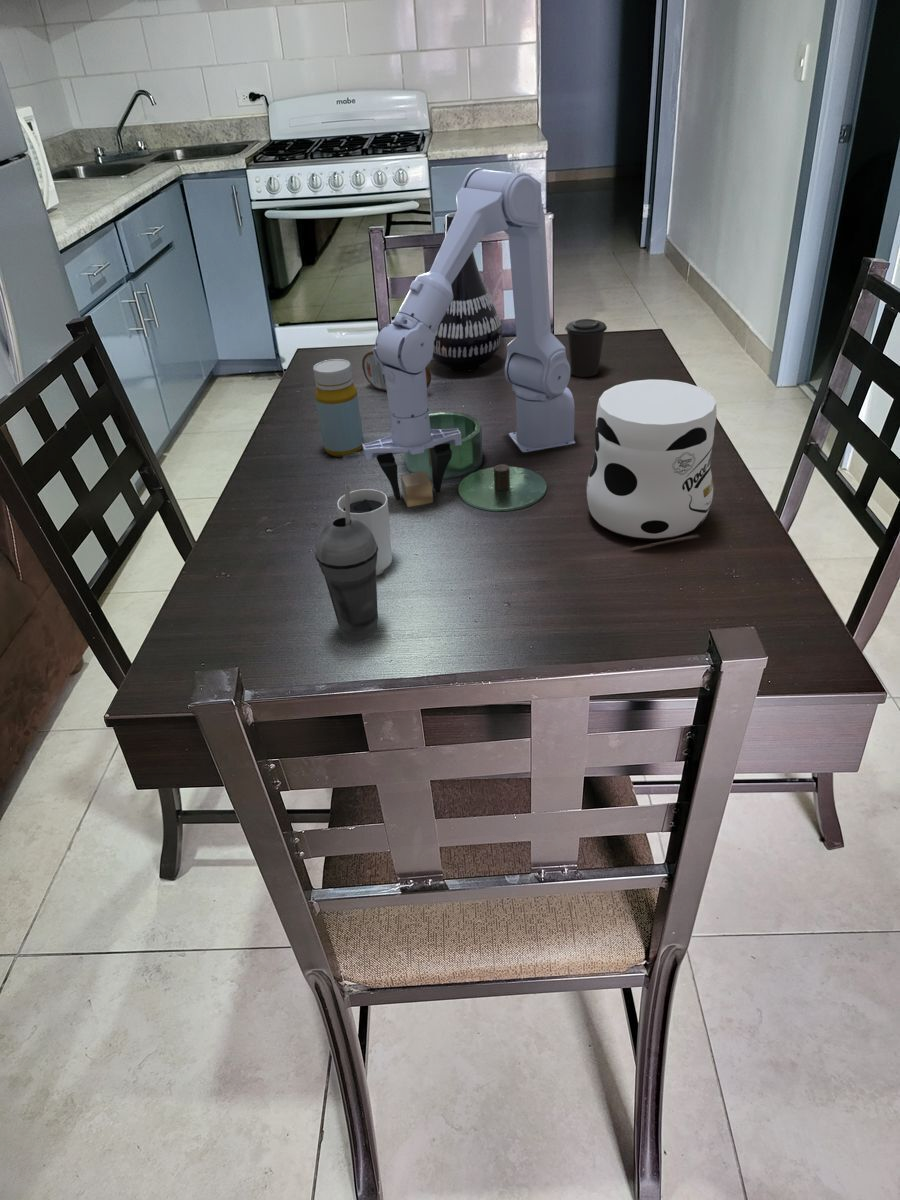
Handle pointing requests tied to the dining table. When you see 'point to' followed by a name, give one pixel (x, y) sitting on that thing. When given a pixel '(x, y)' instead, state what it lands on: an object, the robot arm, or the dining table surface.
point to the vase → (467, 321)
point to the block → (416, 488)
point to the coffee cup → (585, 346)
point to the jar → (452, 446)
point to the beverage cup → (350, 573)
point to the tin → (380, 372)
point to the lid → (502, 488)
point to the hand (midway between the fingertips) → (417, 493)
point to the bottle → (338, 407)
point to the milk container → (652, 459)
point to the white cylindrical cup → (372, 520)
